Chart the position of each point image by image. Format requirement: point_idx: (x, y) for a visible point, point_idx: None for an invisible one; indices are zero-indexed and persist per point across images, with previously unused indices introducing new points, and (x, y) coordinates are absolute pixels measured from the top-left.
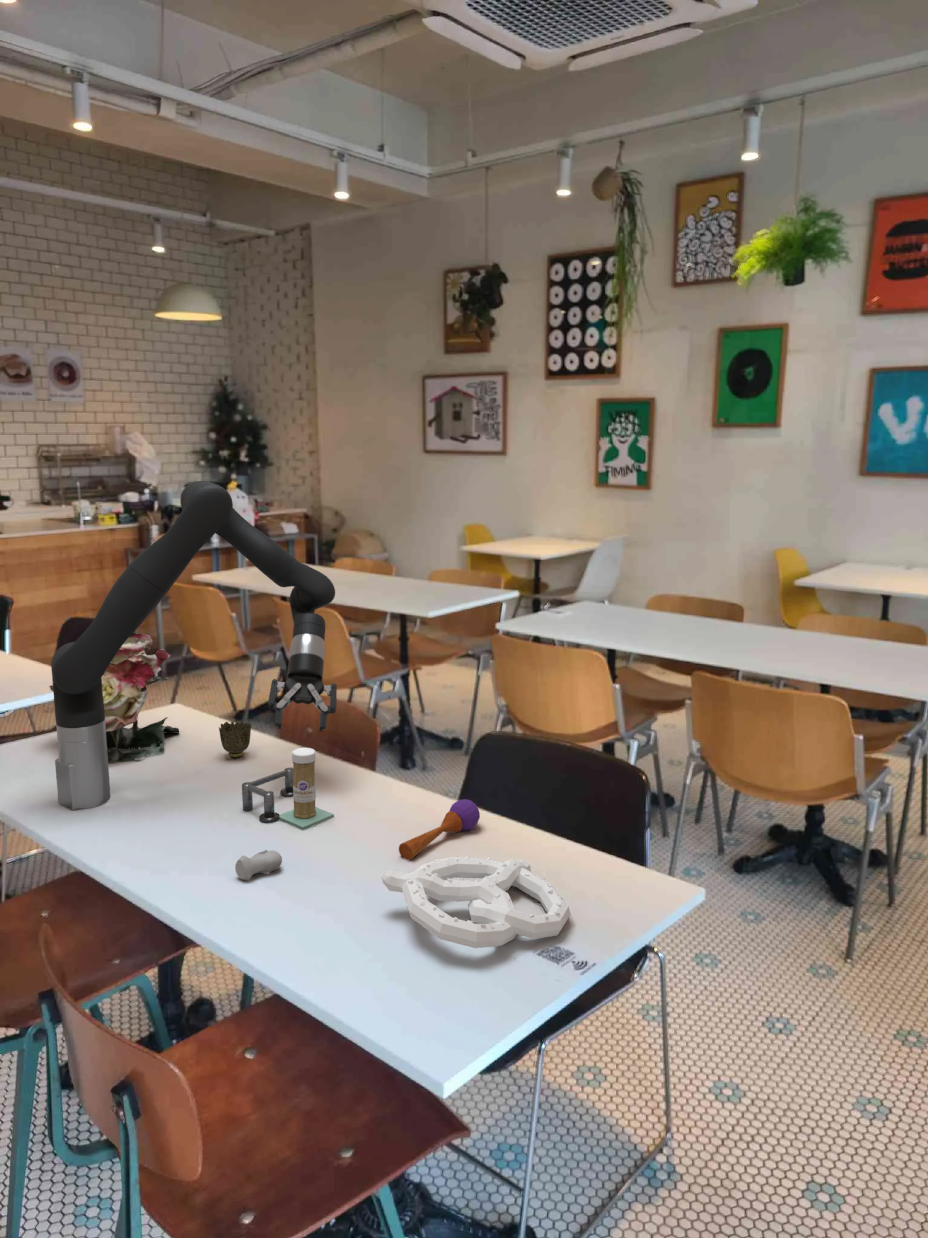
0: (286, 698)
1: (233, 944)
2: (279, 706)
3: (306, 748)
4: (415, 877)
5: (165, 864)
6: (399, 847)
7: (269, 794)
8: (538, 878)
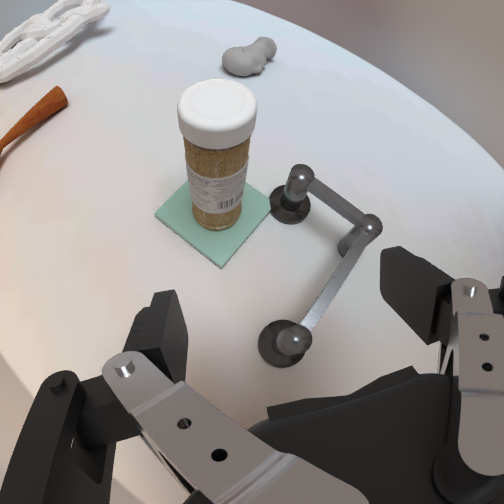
0: (475, 312)
1: (238, 5)
2: (464, 280)
3: (210, 115)
4: (82, 6)
5: (370, 93)
6: (65, 96)
7: (297, 165)
8: None
